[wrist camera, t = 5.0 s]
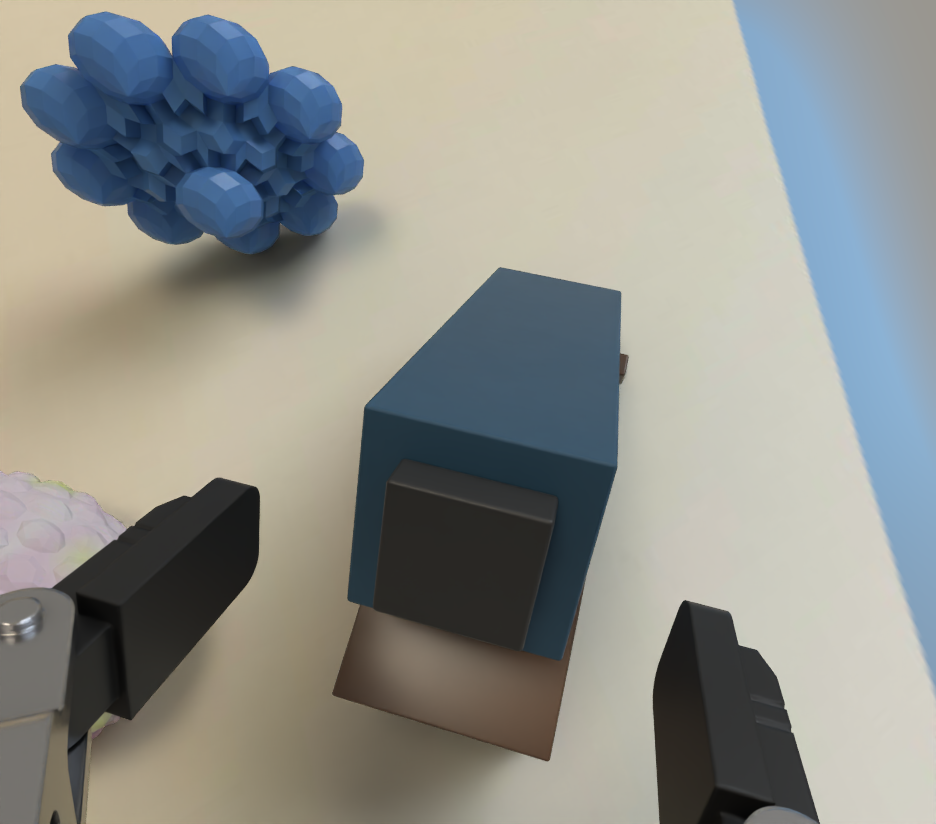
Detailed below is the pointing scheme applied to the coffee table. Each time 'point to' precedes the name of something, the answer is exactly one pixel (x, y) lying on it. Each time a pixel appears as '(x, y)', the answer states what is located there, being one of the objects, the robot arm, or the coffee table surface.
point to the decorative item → (49, 537)
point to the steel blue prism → (493, 465)
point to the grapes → (194, 132)
